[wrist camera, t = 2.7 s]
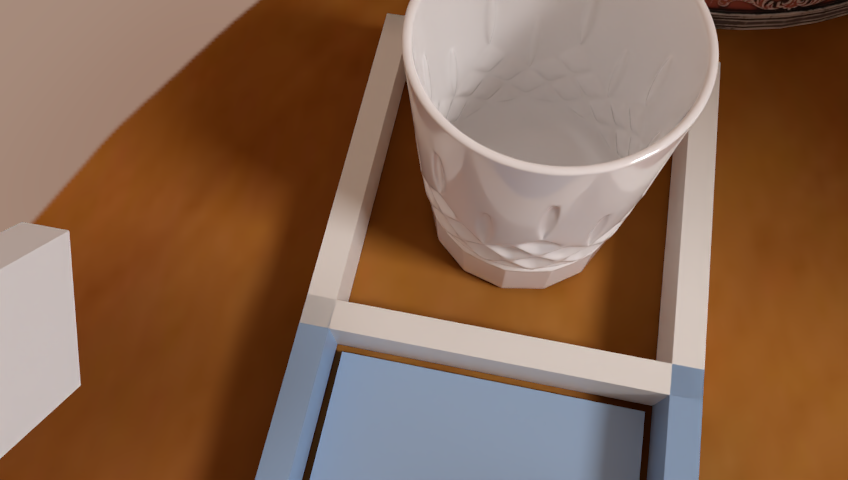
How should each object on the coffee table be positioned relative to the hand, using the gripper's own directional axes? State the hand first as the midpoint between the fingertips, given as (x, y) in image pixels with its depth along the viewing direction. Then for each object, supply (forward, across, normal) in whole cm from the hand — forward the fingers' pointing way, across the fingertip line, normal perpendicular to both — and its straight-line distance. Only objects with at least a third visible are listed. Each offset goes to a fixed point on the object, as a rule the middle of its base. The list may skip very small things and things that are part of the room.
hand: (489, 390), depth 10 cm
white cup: (+17, 0, -3) cm, 17 cm away
